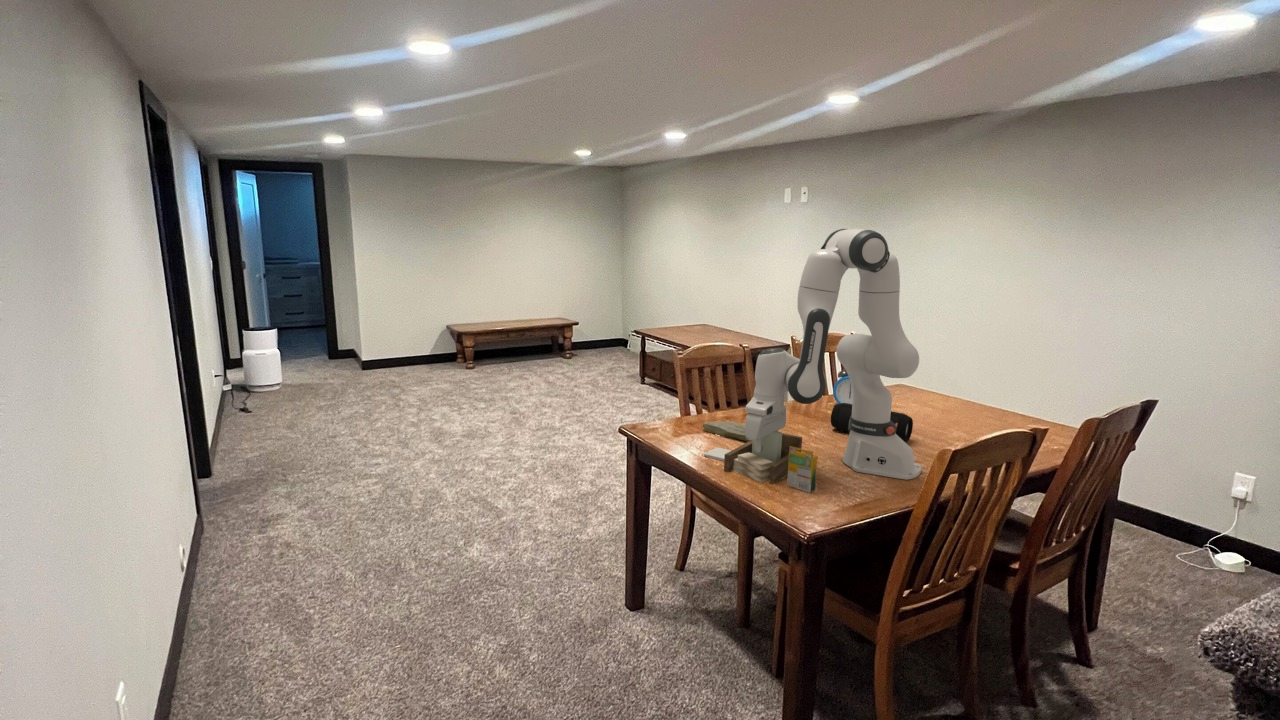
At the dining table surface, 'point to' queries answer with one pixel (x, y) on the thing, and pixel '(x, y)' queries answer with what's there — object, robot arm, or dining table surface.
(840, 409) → the portable speaker
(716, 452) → the grey plate
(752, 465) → the offcut stack
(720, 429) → the stone slab
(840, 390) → the alarm clock
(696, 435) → the dining table surface
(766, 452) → the pale green block
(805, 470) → the crayon box
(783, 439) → the walnut corral
